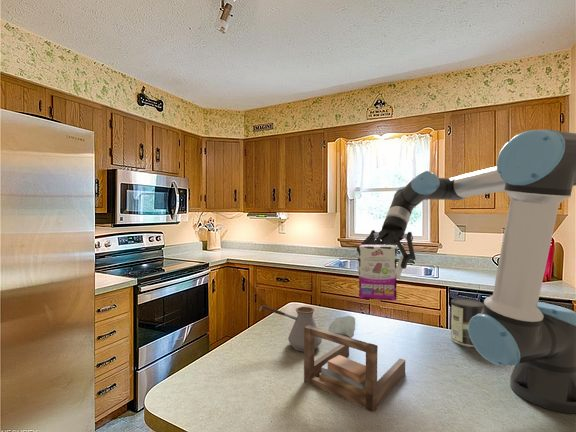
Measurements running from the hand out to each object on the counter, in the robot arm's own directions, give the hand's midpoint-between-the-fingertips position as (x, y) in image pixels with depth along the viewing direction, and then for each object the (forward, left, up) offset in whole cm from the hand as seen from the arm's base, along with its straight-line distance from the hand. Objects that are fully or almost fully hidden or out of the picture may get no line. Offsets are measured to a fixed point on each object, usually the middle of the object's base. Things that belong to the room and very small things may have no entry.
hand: (377, 273), depth 97 cm
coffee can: (-19, -35, -28) cm, 48 cm away
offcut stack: (0, +18, -27) cm, 33 cm away
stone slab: (+22, -18, -28) cm, 40 cm away
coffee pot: (+26, +10, -28) cm, 39 cm away
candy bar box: (0, 0, -8) cm, 8 cm away
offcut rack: (0, +13, -27) cm, 30 cm away
